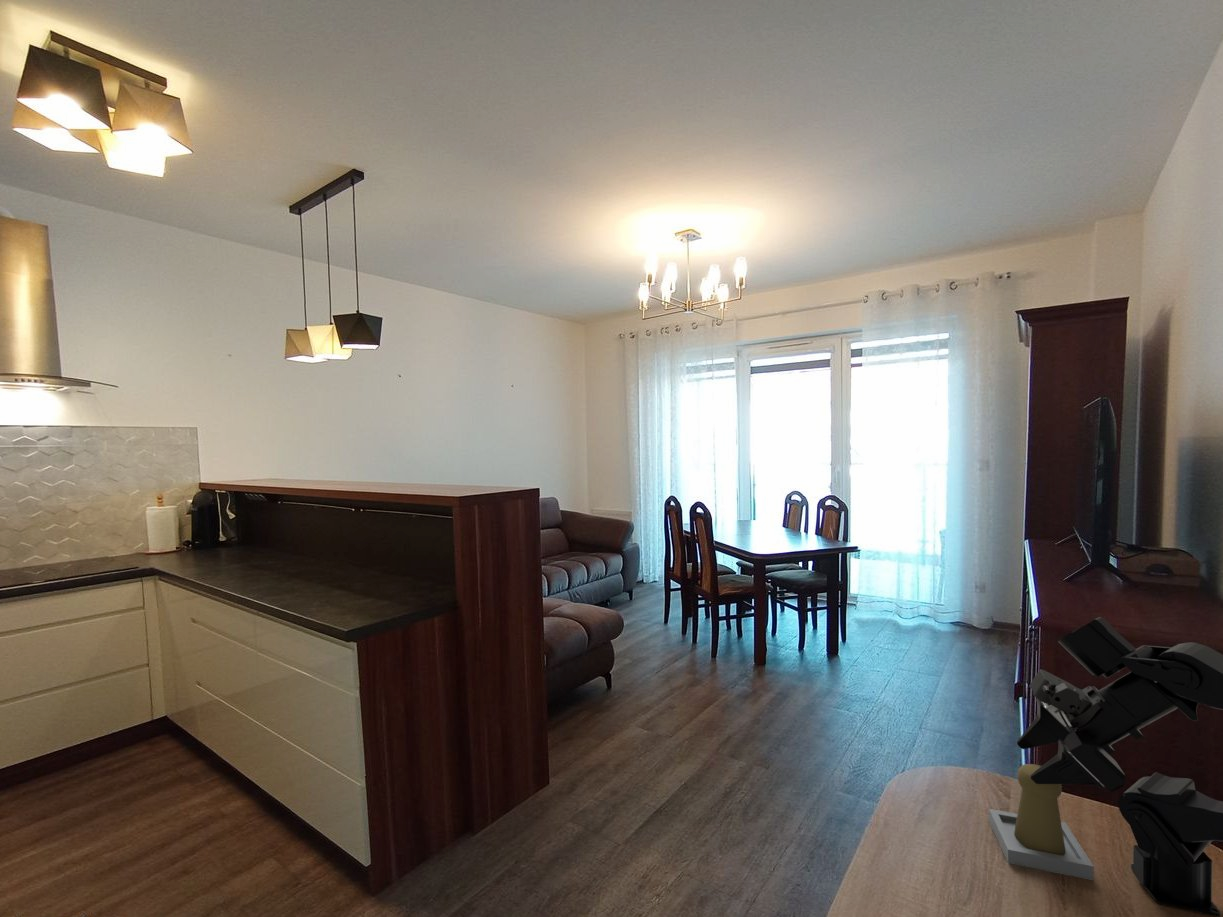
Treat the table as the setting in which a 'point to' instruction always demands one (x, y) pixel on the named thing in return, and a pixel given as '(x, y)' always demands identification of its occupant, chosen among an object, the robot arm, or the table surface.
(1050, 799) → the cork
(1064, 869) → the gray tray
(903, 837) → the table surface
